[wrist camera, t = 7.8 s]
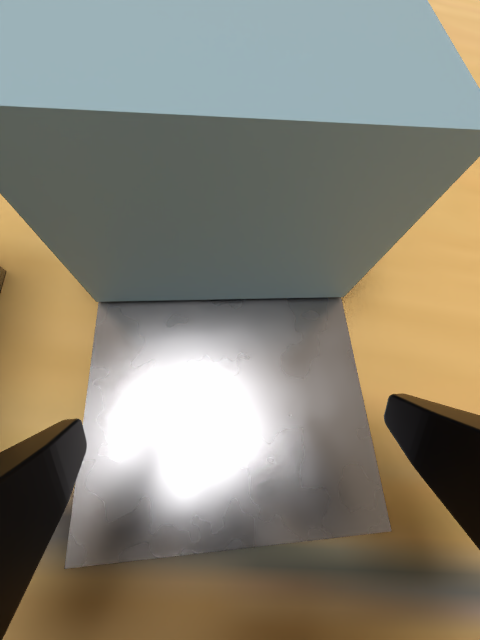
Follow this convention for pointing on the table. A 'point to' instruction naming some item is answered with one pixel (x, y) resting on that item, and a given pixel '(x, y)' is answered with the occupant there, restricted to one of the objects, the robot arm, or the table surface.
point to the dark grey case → (221, 430)
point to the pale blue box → (228, 139)
